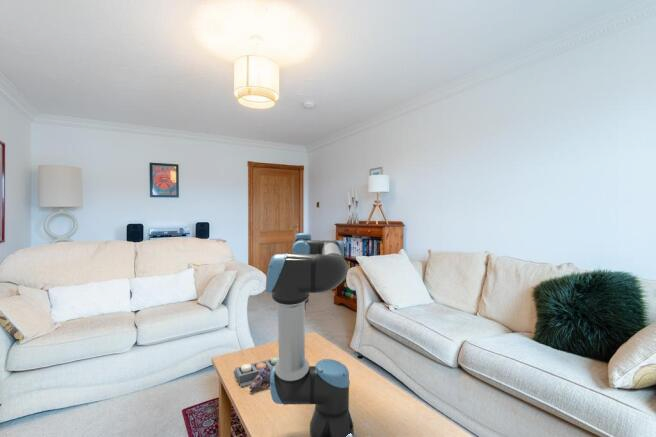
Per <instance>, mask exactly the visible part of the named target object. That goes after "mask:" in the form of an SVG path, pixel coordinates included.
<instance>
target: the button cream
mask: <svg viewBox="0 0 656 437" xmlns="http://www.w3.org/2000/svg"><path fill="white" fill-rule="evenodd" d="M250 364H251V363H244V364H242V365H241V366H240V367H241V373H242V374H244V373H248V372H251V365H250Z"/></svg>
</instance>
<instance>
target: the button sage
mask: <svg viewBox="0 0 656 437" xmlns="http://www.w3.org/2000/svg"><path fill="white" fill-rule="evenodd" d="M270 359H271V365H272V366H275V365H276V363H277V361H278V360H279V356H273V357H272V358H270Z"/></svg>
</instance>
